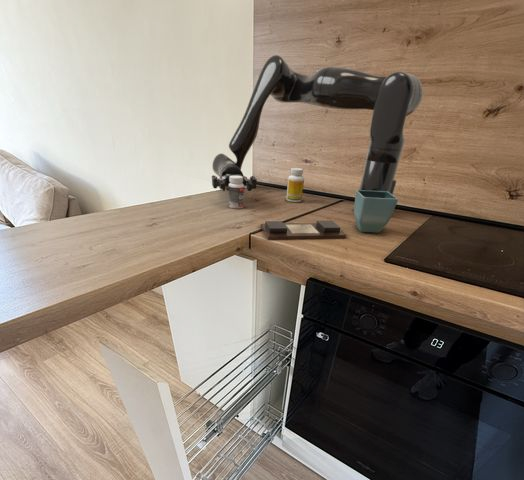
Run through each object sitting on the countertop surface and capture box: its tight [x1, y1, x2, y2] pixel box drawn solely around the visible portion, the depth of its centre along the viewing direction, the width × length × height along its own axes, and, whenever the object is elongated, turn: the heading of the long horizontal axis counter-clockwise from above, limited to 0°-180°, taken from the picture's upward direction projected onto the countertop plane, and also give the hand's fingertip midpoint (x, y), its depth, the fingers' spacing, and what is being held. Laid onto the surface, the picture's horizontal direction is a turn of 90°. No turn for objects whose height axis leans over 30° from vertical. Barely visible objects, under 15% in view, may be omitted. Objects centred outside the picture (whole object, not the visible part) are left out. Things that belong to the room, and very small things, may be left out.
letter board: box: [260, 220, 347, 240], centre depth 78 cm, size 20×10×2 cm, turn 101°
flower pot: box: [353, 189, 399, 234], centre depth 80 cm, size 9×9×9 cm
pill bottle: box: [228, 176, 245, 210], centre depth 93 cm, size 5×5×8 cm
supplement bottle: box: [285, 167, 305, 203], centre depth 102 cm, size 5×5×10 cm
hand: (237, 187), depth 90 cm, fingers open, 7 cm apart
